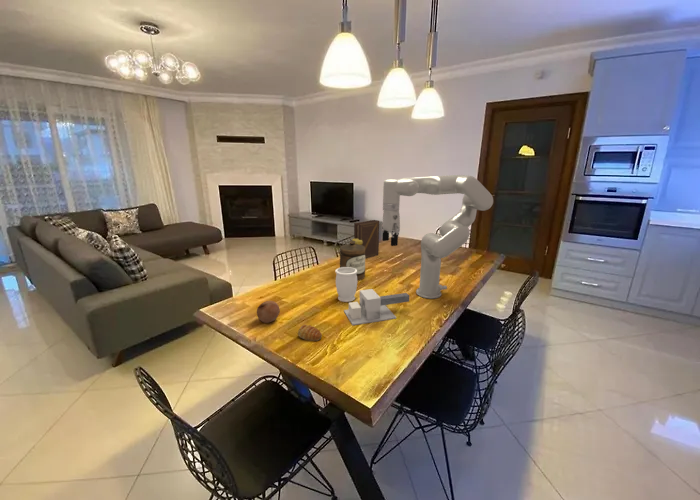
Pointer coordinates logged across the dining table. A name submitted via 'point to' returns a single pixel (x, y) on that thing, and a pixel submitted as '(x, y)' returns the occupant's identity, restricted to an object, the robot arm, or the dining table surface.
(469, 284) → the dining table surface
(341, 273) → the jar
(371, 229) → the book
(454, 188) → the robot arm
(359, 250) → the wooden container
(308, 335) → the pastry
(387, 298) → the shaft
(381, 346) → the dining table surface
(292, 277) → the dining table surface
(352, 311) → the block
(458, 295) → the dining table surface
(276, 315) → the onion
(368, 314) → the bearing block
